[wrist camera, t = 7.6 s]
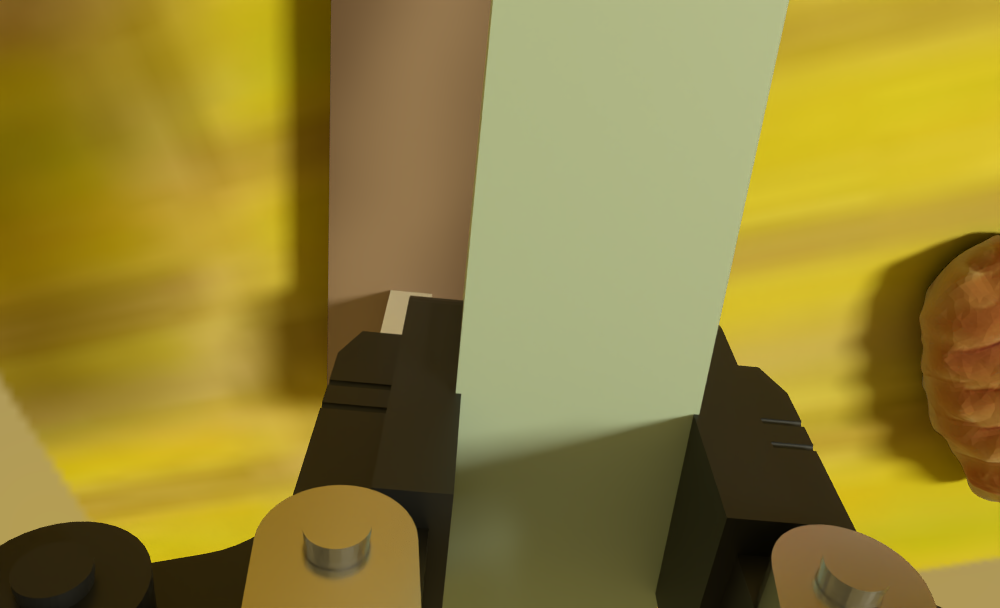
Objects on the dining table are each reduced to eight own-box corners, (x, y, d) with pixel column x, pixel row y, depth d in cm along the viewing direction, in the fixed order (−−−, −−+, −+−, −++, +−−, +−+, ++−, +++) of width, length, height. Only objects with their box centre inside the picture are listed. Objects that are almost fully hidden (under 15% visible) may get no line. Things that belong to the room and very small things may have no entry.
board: (335, 384, 28) (326, 411, 27) (348, -435, 18) (335, -456, 17) (635, 410, 29) (641, 438, 28) (808, -374, 19) (832, -389, 17)
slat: (421, 736, 15) (398, 983, 12) (522, -333, 10) (541, -513, 6) (554, 745, 16) (574, 992, 12) (737, -304, 10) (890, -465, 6)
